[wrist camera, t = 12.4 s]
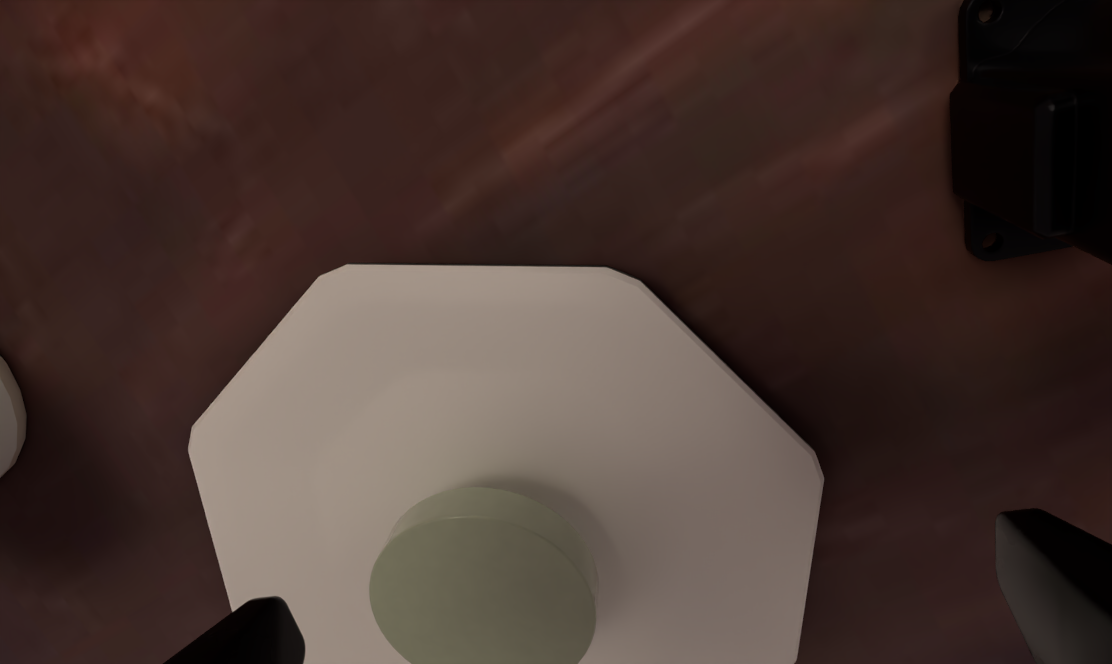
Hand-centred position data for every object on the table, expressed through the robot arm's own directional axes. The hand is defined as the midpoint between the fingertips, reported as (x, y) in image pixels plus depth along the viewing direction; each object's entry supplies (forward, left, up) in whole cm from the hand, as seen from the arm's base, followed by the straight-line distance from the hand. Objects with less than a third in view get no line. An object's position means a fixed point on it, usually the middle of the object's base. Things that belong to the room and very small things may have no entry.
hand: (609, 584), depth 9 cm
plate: (+6, +8, -12) cm, 16 cm away
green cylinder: (+6, +8, -10) cm, 14 cm away
